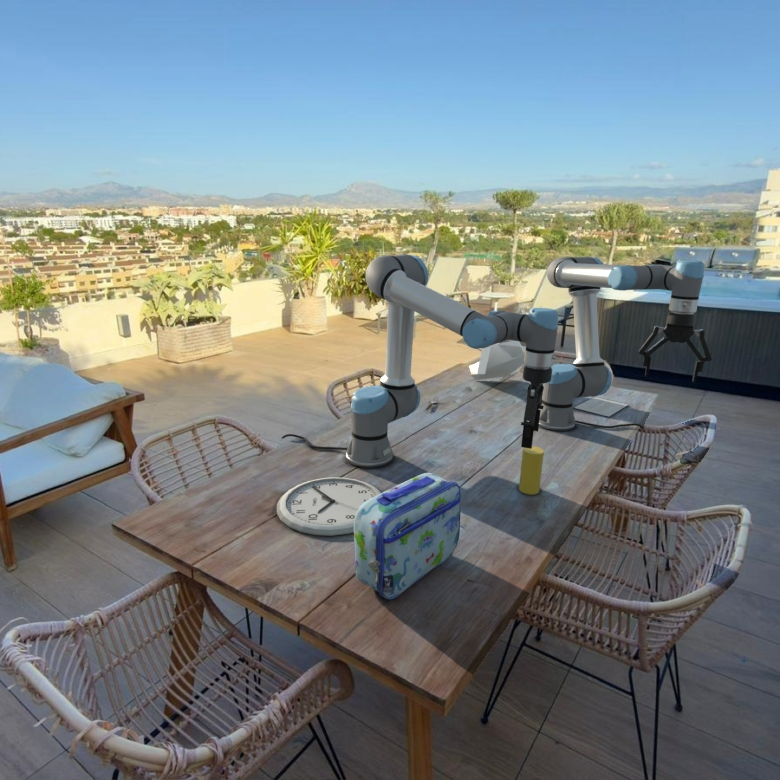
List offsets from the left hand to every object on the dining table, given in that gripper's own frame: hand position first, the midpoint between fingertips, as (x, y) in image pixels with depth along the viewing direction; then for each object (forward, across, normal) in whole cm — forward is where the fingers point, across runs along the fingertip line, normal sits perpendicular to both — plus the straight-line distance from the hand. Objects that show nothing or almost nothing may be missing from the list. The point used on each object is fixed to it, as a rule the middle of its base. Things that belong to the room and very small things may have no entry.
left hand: (530, 438), depth 148 cm
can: (+16, +1, -1) cm, 16 cm away
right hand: (-12, +40, -37) cm, 56 cm away
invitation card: (+16, +91, -19) cm, 94 cm away
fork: (+17, +61, +48) cm, 79 cm away
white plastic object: (+17, +103, +23) cm, 107 cm away
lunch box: (+16, -49, +18) cm, 55 cm away
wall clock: (+17, -30, +47) cm, 58 cm away
